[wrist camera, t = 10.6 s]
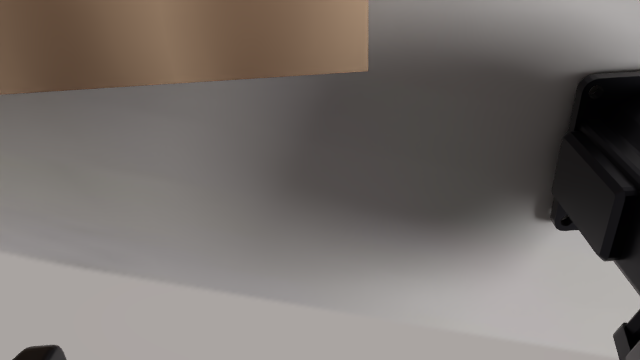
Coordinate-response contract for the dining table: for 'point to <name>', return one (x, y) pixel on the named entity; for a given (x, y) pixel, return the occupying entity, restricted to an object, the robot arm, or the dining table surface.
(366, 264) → the dining table surface
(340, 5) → the walnut socket block
